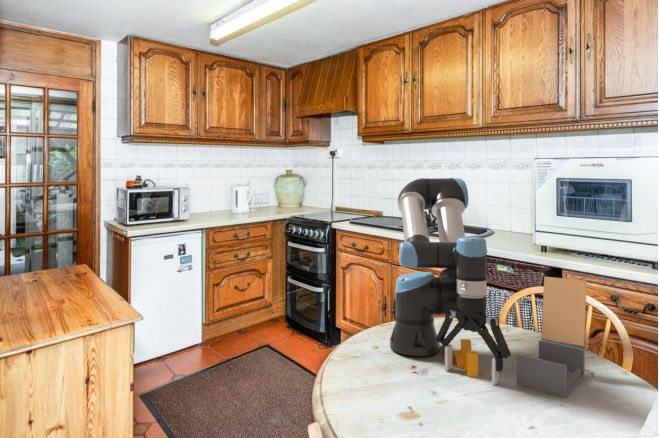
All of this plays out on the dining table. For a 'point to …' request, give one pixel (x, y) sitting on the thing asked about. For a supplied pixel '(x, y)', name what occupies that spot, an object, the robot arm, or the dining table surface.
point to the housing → (552, 369)
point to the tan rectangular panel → (564, 311)
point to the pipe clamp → (467, 358)
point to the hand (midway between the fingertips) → (471, 375)
